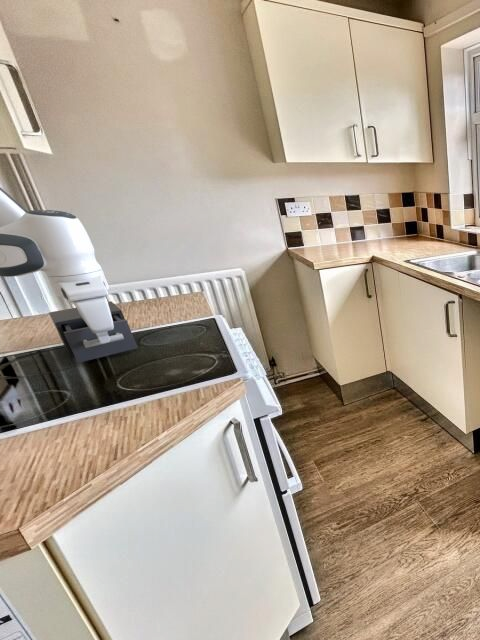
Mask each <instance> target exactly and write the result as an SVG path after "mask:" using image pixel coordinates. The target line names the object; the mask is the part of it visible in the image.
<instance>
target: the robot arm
mask: <svg viewBox="0 0 480 640" xmlns="http://www.w3.org/2000/svg"><path fill="white" fill-rule="evenodd" d="M95 253H96V252H95V247H94V245H93V243H92V240H91V238H90V236H89V233H88V232H87V230H86V228H85V227H84V224H83V223H82V221H81V220H80V219H79V218H78V217H77V216H75V215H74V214H72V213H71V212H68V211H67V212H66V211H62V210H52V209H47V210H46V209H33V210H27V209H26V208H25V207H24V206H23V205H21V204H20V203H19V202H18V201H17V200H15V198H13V197H12V196H11V195H10V194H8V192H7V191H5V190H4V189H3V188H2V187H1V186H0V277H3V278H4V277H5V278H6V277H7V278H8V277H11V278H13V277H14V278H15V277H22V276H26V275H29V274H33V273H34V274H35V273H37V272H44V273H45V274H46V275H47V278H48V280H49V283H50V285H51V287H52V289H53V291H54V294H55V296H56V297H57V298H63V299H65V300H66V302H67V303H68V304H72V305H73V306H75V308H77V310H78V312H79V314H80V316H81V317H82V319H83V320H84V321H85V323H86V324H87V325H88V327H89V328H90V330H91V331H92V332H93V333H95V334H96V336H97V338H98V340H99V341H100V343H107V342H110V338H109V336H108V332H107V331H110V330H113V329H114V324H113V319H112V316H111V312H110V308H109V305H108V302H109V301H108V298H107V296H109V289H110V285H109V282H108V281H107V278H106V276H105V272H104V270H103V268H102V266H101V265H100V263H99V262H98V261H97V259H96V255H95Z"/></svg>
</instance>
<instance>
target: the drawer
mask: <svg viewBox="0 0 480 640" xmlns="http://www.w3.org/2000/svg"><path fill="white" fill-rule="evenodd" d="M111 316H112V319H113V324H114V329H113V330H110V331H107V332H108V336H109V338H110V342H107V343H100V341H99V340H98V338H97V336H96V334H95V333H93V332H92V331H91V330H90V328H89V327H88V325H87V324H86V323H85V321H84V320H83V321H78V322H73V323H68V324H63V326H64V328H65V330H66V332H64V334H65V336H66V338H67V341H68V343H69V345H70V347H71V349H72V352H73V354H74V356H75V360H76V363H77V364H79V363H84V362H88V361H91V360H97V359H101V358H104V357H108V356H111V355H116V354H120V353H125V352H128V351H132V350H137V349H138V345H137V343H136V340H135V337H134V335H133V332H132V330H131V327H130V324H129V323H128V320H127V319H124V320H121V319H120V318H119V317H118V316H117V315H116V314H113V315H111Z"/></svg>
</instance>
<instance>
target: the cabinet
mask: <svg viewBox="0 0 480 640" xmlns="http://www.w3.org/2000/svg"><path fill="white" fill-rule="evenodd" d="M108 305H109V308H110V312H111V315H113V314H116V315H117V316H118V317H119V318H120V319H121V320H124V319H125V315H124V313H123V310H122V309H121V308H120V307H118V306H117V305H116V304H115V303H114V302H113V301H108ZM48 314H49V316H50V318H51V321H52V322H53V325H54V327H55V330H56V331H57V334H58V336H59V338H60V340H61V342H62V344H63V347H64V348H65V350H66V352H67V354H68V355H69V357H70V359H74V358H75V356H74V354H73V352H72V349H71V347H70V345H69V343H68V341H67V338H66V336H65V334H64V332H66V330H65V328H64V326H63V324H68V323H73V322H78V321H83V319H82V317H81V316H80V314H79V312H78V310H77V308H76V307H71V308H66V309H59V310H54V311H50V312H48ZM75 359H76V358H75Z"/></svg>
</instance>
